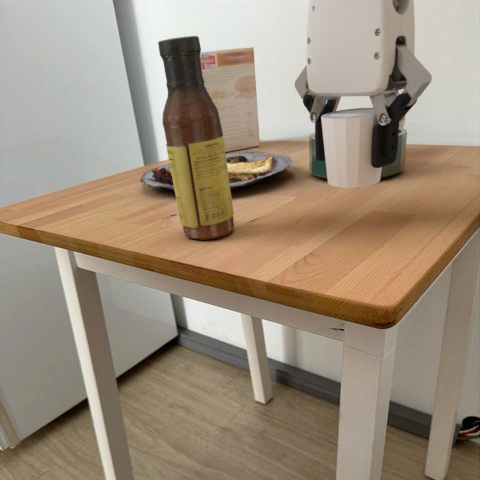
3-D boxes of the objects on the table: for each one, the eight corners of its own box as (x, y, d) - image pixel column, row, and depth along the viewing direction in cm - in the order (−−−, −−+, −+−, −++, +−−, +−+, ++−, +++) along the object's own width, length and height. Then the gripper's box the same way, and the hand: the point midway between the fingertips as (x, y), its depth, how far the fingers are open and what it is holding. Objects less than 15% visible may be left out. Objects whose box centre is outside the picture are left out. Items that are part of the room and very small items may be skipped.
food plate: (115, 196, 75) (110, 174, 74) (189, 165, 93) (187, 146, 91) (258, 203, 65) (256, 177, 63) (311, 166, 83) (310, 145, 81)
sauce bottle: (240, 224, 57) (223, 34, 48) (227, 242, 52) (206, 32, 42) (189, 224, 59) (163, 40, 49) (172, 242, 54) (139, 40, 44)
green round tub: (349, 160, 85) (350, 124, 82) (422, 168, 75) (426, 128, 72) (291, 176, 77) (290, 137, 74) (363, 188, 67) (365, 144, 64)
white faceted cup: (332, 173, 56) (331, 109, 52) (392, 173, 53) (395, 105, 49) (313, 188, 51) (311, 118, 47) (379, 190, 48) (382, 115, 44)
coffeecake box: (245, 143, 111) (237, 48, 102) (261, 146, 106) (255, 46, 96) (187, 153, 105) (174, 54, 96) (201, 157, 100) (189, 51, 90)
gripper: (474, -68, 38) (448, 161, 46) (314, -26, 50) (318, 149, 59) (419, -72, 34) (403, 179, 43) (261, -26, 46) (274, 161, 55)
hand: (354, 160), depth 51 cm, fingers closed on white faceted cup, 6 cm apart
